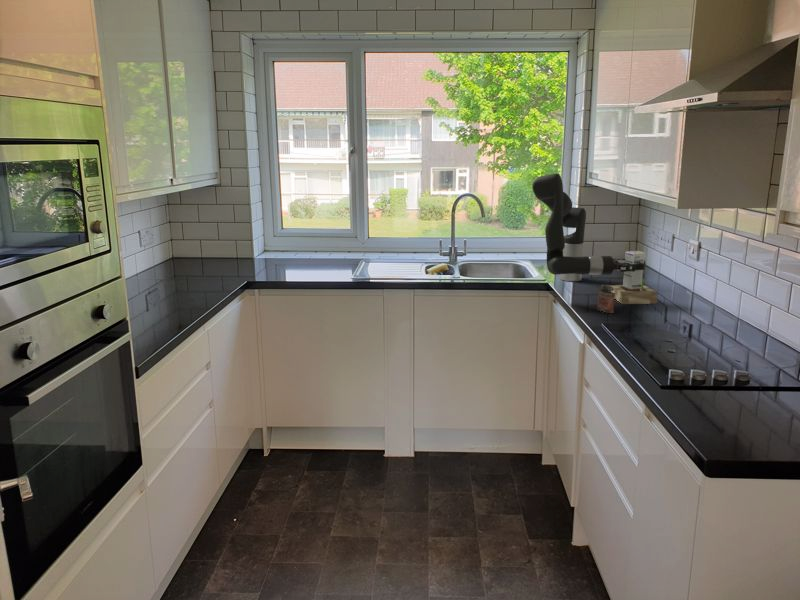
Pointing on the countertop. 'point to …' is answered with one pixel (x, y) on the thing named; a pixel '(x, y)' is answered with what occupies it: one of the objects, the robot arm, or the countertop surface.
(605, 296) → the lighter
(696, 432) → the countertop surface
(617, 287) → the collar
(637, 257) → the syrup box
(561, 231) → the robot arm
